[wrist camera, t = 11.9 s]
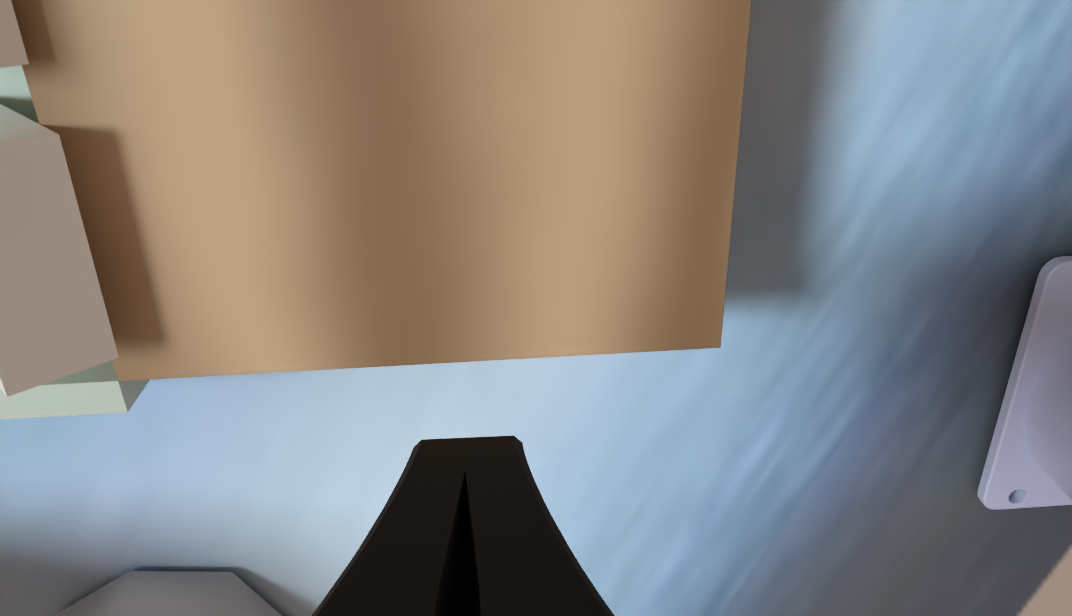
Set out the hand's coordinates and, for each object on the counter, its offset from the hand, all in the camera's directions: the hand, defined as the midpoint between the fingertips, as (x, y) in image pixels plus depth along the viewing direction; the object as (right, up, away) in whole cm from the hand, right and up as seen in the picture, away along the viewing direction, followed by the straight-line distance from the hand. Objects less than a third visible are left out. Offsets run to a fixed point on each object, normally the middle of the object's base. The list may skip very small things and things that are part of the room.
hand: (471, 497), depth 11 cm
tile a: (-9, +4, +6) cm, 11 cm away
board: (-2, +8, +7) cm, 11 cm away
